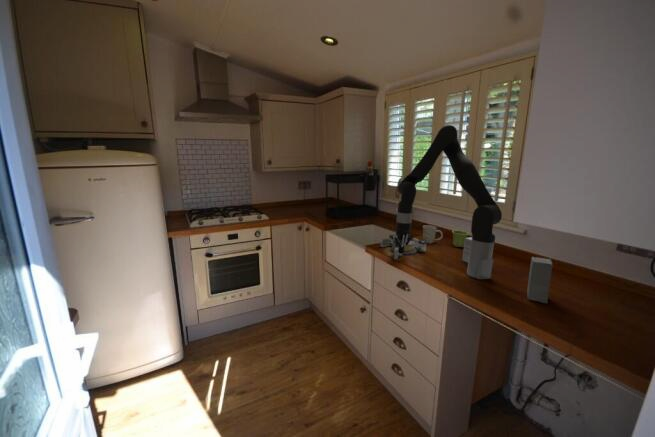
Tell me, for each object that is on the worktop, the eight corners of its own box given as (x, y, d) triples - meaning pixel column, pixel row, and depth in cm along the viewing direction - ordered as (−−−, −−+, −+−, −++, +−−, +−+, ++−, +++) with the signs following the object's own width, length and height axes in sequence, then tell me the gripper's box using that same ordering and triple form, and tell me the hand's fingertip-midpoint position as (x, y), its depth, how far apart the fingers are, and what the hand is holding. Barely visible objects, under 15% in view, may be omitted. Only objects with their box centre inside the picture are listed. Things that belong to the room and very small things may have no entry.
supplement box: (471, 258, 160) (474, 236, 157) (483, 263, 153) (487, 240, 151) (461, 260, 157) (464, 237, 154) (473, 265, 151) (476, 241, 148)
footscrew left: (394, 252, 164) (395, 242, 163) (403, 254, 163) (404, 244, 161) (390, 258, 155) (391, 248, 154) (399, 260, 153) (400, 249, 152)
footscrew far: (392, 243, 182) (393, 234, 180) (398, 245, 177) (399, 236, 176) (378, 245, 176) (379, 236, 175) (383, 248, 172) (384, 238, 171)
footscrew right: (427, 252, 168) (428, 242, 167) (420, 252, 167) (421, 242, 165) (417, 246, 178) (417, 236, 177) (409, 246, 177) (410, 237, 175)
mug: (420, 239, 193) (421, 224, 191) (440, 241, 191) (442, 226, 189) (422, 243, 185) (424, 228, 183) (443, 245, 183) (445, 229, 181)
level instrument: (421, 254, 165) (422, 244, 164) (398, 255, 162) (399, 245, 160) (409, 246, 178) (409, 237, 177) (387, 247, 175) (388, 238, 174)
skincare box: (547, 304, 112) (555, 265, 109) (525, 299, 116) (532, 261, 113) (545, 295, 120) (553, 259, 116) (524, 291, 123) (531, 255, 120)
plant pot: (453, 242, 189) (455, 229, 187) (469, 246, 183) (471, 232, 181) (447, 245, 182) (449, 232, 180) (463, 249, 176) (465, 235, 174)
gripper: (407, 218, 157) (405, 249, 161) (389, 220, 150) (386, 253, 154) (418, 221, 151) (415, 253, 155) (399, 223, 144) (396, 257, 148)
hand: (401, 253), depth 154 cm, fingers closed
